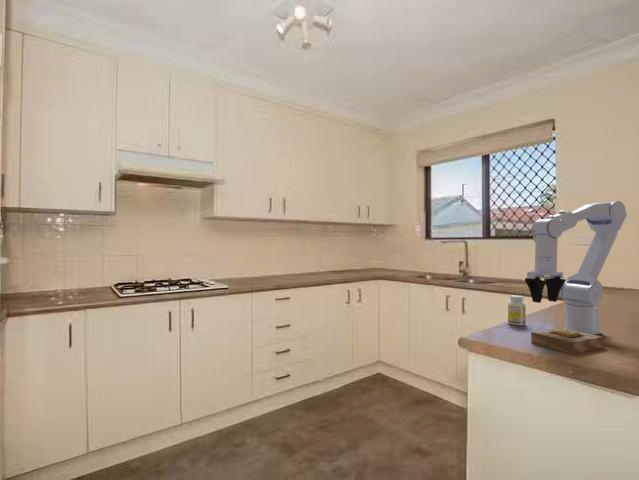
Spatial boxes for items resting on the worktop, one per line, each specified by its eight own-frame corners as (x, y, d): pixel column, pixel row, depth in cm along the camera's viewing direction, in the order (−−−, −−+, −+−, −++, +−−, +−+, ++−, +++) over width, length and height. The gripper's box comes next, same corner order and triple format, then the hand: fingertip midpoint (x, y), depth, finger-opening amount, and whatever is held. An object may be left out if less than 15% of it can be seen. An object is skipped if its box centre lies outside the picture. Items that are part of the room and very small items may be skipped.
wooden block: (562, 342, 103) (562, 328, 103) (579, 346, 99) (579, 332, 99) (552, 344, 101) (552, 330, 101) (569, 348, 97) (569, 333, 97)
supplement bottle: (519, 322, 128) (519, 294, 128) (528, 325, 123) (529, 297, 123) (504, 322, 128) (505, 294, 128) (513, 325, 122) (513, 297, 122)
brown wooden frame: (561, 337, 108) (561, 327, 108) (603, 347, 98) (603, 336, 98) (531, 342, 102) (531, 332, 102) (572, 354, 92) (572, 342, 92)
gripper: (547, 257, 117) (546, 298, 117) (518, 256, 110) (516, 300, 110) (570, 258, 110) (569, 302, 110) (540, 257, 104) (539, 304, 104)
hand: (544, 301), depth 110 cm, fingers open, 7 cm apart
